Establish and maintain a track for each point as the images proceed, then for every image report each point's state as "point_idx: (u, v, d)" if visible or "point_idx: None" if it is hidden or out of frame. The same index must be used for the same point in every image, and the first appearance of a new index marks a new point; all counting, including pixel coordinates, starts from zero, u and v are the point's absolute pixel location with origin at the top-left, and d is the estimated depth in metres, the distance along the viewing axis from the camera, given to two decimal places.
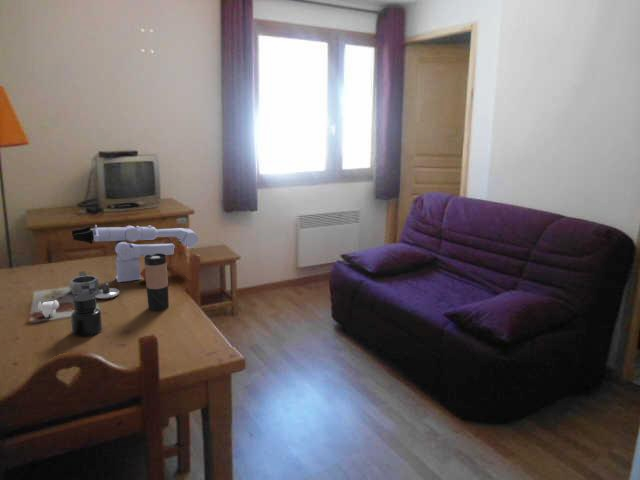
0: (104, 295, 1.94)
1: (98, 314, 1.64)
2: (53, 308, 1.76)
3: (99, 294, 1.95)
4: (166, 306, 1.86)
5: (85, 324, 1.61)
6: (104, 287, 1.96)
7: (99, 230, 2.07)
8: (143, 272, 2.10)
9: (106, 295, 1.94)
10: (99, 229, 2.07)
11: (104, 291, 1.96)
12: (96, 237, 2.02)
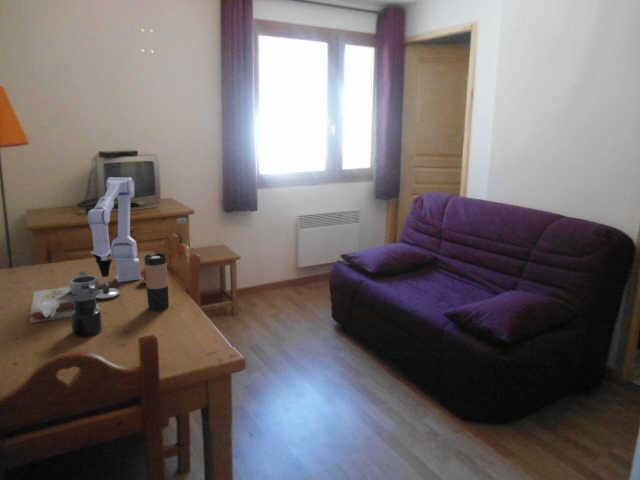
0: (104, 295, 1.94)
1: (98, 314, 1.64)
2: (53, 308, 1.76)
3: (99, 294, 1.95)
4: (166, 306, 1.86)
5: (85, 324, 1.61)
6: (104, 287, 1.96)
7: (96, 250, 1.90)
8: (143, 272, 2.10)
9: (106, 295, 1.94)
10: (95, 250, 1.91)
11: (104, 291, 1.96)
12: (103, 258, 1.87)
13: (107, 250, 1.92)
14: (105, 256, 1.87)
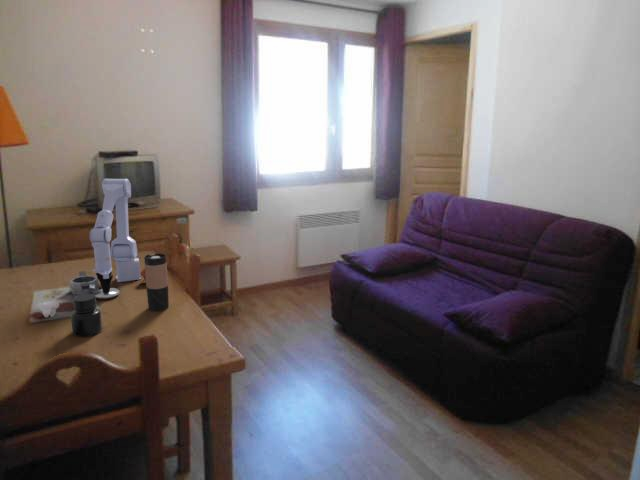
0: (104, 295, 1.94)
1: (98, 314, 1.64)
2: (53, 308, 1.76)
3: (99, 294, 1.95)
4: (166, 306, 1.86)
5: (85, 324, 1.61)
6: None
7: (98, 268, 1.92)
8: (143, 272, 2.10)
9: (106, 295, 1.94)
10: (97, 268, 1.92)
11: None
12: (105, 276, 1.89)
13: (109, 268, 1.94)
14: (107, 274, 1.89)
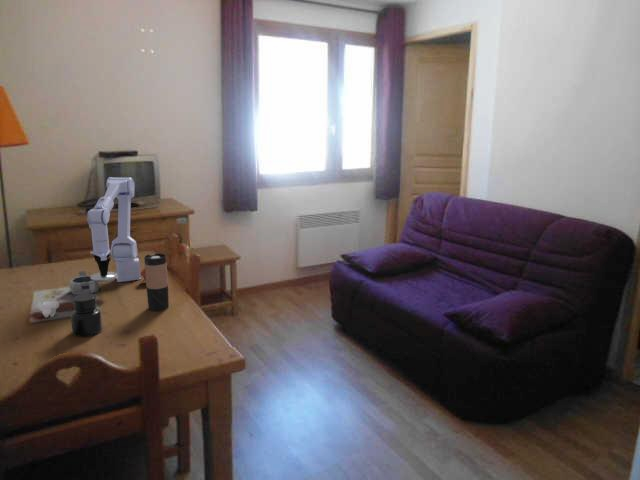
0: (102, 277, 1.92)
1: (98, 314, 1.64)
2: (53, 308, 1.76)
3: (97, 277, 1.93)
4: (166, 306, 1.86)
5: (85, 324, 1.61)
6: None
7: (95, 250, 1.91)
8: (143, 272, 2.10)
9: (104, 277, 1.93)
10: (94, 250, 1.91)
11: None
12: (102, 258, 1.87)
13: (106, 250, 1.92)
14: (104, 256, 1.88)
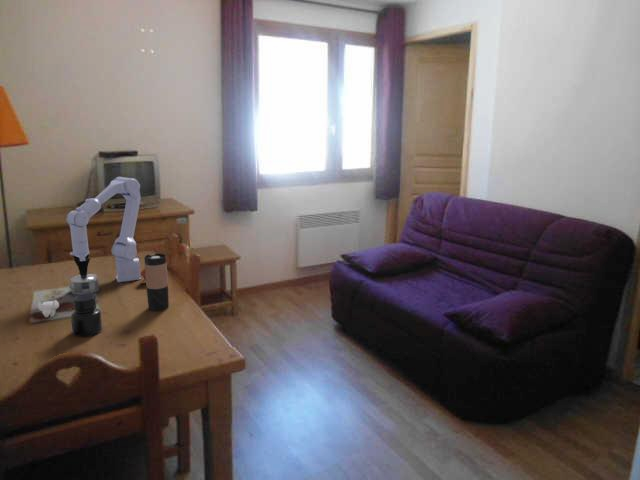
0: (81, 280, 1.98)
1: (98, 314, 1.64)
2: (53, 308, 1.76)
3: (76, 279, 2.00)
4: (166, 306, 1.86)
5: (85, 324, 1.61)
6: None
7: (75, 251, 1.96)
8: (143, 272, 2.10)
9: (82, 280, 1.98)
10: (74, 251, 1.96)
11: (81, 276, 2.00)
12: (81, 258, 1.93)
13: (86, 251, 1.98)
14: (83, 257, 1.93)
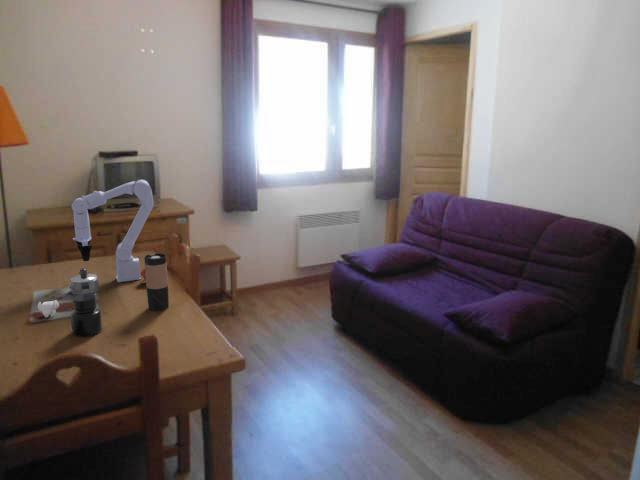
0: (81, 280, 1.98)
1: (98, 314, 1.64)
2: (53, 308, 1.76)
3: (76, 279, 2.00)
4: (166, 306, 1.86)
5: (85, 324, 1.61)
6: (81, 272, 2.00)
7: (78, 237, 2.06)
8: (143, 272, 2.10)
9: (82, 280, 1.98)
10: (77, 236, 2.07)
11: (81, 276, 2.00)
12: (84, 243, 2.03)
13: (88, 236, 2.08)
14: (86, 242, 2.03)
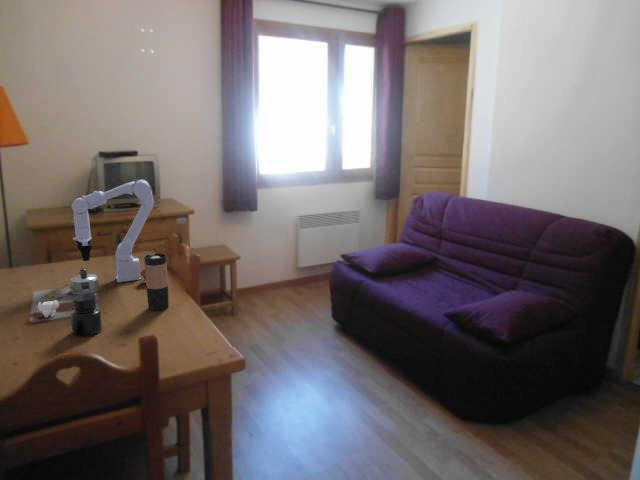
0: (81, 280, 1.98)
1: (98, 314, 1.64)
2: (53, 308, 1.76)
3: (76, 279, 2.00)
4: (166, 306, 1.86)
5: (85, 324, 1.61)
6: (81, 272, 2.00)
7: (78, 237, 2.07)
8: (143, 272, 2.10)
9: (82, 280, 1.98)
10: (77, 236, 2.07)
11: (81, 276, 2.00)
12: (84, 243, 2.03)
13: (88, 236, 2.08)
14: (86, 242, 2.04)
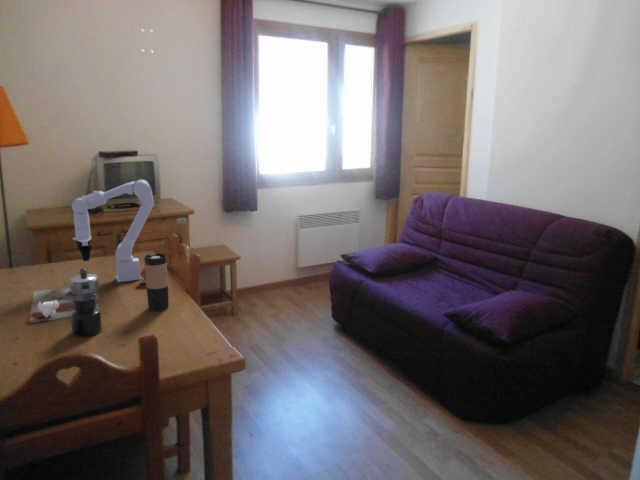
0: (81, 280, 1.98)
1: (98, 314, 1.64)
2: (53, 308, 1.76)
3: (76, 279, 2.00)
4: (166, 306, 1.86)
5: (85, 324, 1.61)
6: (81, 272, 2.00)
7: (78, 237, 2.07)
8: (143, 272, 2.10)
9: (82, 280, 1.98)
10: (77, 236, 2.07)
11: (81, 276, 2.00)
12: (84, 243, 2.03)
13: (88, 236, 2.08)
14: (86, 242, 2.04)
